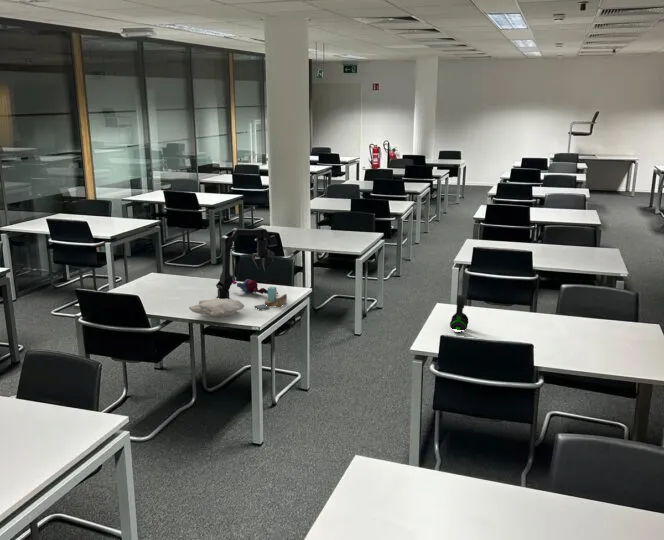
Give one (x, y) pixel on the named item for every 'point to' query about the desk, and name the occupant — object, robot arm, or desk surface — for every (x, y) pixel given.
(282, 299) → the tan piece
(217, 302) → the decorative stone
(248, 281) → the toy
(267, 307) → the gray block
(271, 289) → the teal block
